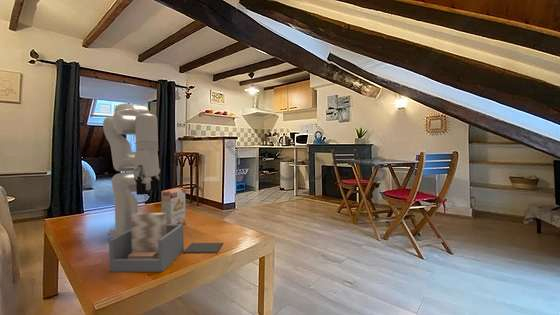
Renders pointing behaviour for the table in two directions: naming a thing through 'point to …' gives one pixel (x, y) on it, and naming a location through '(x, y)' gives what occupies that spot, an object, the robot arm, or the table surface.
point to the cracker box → (174, 206)
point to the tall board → (147, 231)
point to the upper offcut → (143, 255)
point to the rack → (168, 252)
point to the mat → (203, 248)
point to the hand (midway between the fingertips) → (148, 192)
